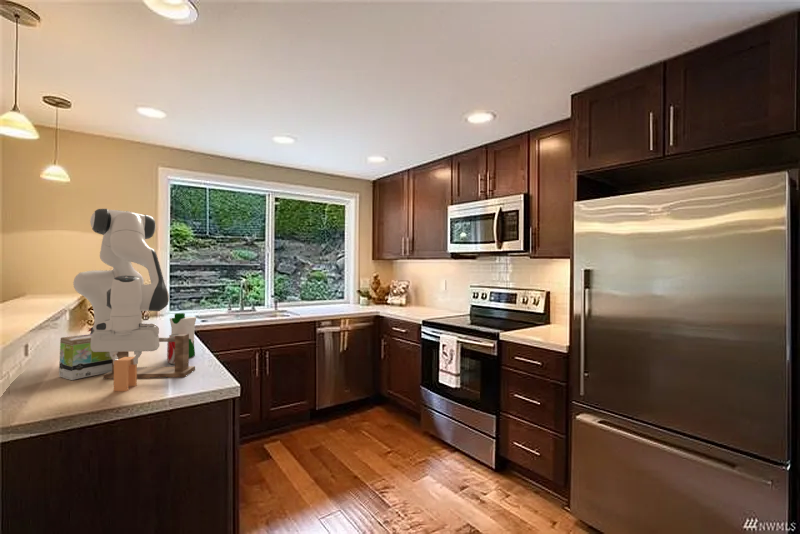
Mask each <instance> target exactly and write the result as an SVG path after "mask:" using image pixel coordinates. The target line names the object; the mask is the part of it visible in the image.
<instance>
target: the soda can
mask: <svg viewBox="0 0 800 534" xmlns="http://www.w3.org/2000/svg"><path fill="white" fill-rule="evenodd" d="M177 335H179V334H172V335H171V334H170V335H169V336H168V338H175V336H177ZM166 343H167V345H166V346H167V347H166V350H167V351H166V355H167V356H166V357H167V359H166V360H167V363H169V364H170V365H175V342H166Z"/></svg>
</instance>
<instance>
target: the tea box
mask: <svg viewBox="0 0 800 534" xmlns="http://www.w3.org/2000/svg"><path fill="white" fill-rule="evenodd" d="M91 336H92V334H90V333H89V334H81V335H80V334H79V335H73V336H72V335H71V336H66V337H65V336H64V337H60V340H59V341H60V343H59V344H60V345H59V364H58V365H59V367H58V368H59V369H58V376H59V377H61V378H62V379H66V380H69V381H75V380H78V379H82V378H88V377H94V376H98V375H99V376H100V375H104V374H106V373H108V372H111V371H112V358H111V356H110V352H93V351H92V350H91Z"/></svg>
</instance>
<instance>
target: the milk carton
mask: <svg viewBox="0 0 800 534" xmlns="http://www.w3.org/2000/svg"><path fill="white" fill-rule="evenodd" d="M169 321H170V322H169V323H170V327H171V328H170V329H171V330H170V331H171V334H170V335H172V334H189V358H193V357H196V349H195V326H196V321H197V317H196V316H186V313H184V312H179V313H174V317H171V318H169ZM192 356H193V357H192Z"/></svg>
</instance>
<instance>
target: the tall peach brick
mask: <svg viewBox="0 0 800 534" xmlns="http://www.w3.org/2000/svg"><path fill="white" fill-rule="evenodd" d="M134 357H135V356H128V357H123V358H121V359H118V360H116V361H114V379H113V392H127V391H129V387H136V386H137V383H138V382H137V380H138V378H137V367H138V364H136V365H131V359H133V358H134Z"/></svg>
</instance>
